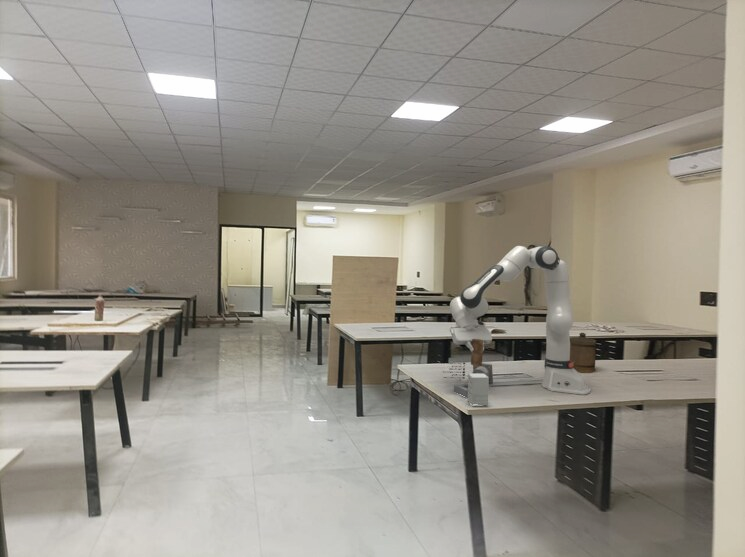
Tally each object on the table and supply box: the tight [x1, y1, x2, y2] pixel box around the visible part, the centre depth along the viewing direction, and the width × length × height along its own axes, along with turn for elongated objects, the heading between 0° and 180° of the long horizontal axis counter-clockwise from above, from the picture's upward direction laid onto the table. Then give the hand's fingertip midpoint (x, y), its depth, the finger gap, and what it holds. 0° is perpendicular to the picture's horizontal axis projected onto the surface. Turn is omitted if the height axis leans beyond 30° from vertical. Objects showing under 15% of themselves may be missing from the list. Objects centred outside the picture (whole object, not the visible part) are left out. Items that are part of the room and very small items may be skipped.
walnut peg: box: [470, 339, 484, 366], centre depth 222 cm, size 4×4×12 cm
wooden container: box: [570, 332, 597, 374], centre depth 279 cm, size 15×15×22 cm
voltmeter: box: [441, 362, 494, 384], centre depth 244 cm, size 27×11×10 cm, turn 92°
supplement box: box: [467, 372, 490, 406], centre depth 207 cm, size 7×7×13 cm
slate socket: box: [453, 383, 468, 398], centre depth 222 cm, size 10×10×4 cm
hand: (477, 350), depth 221 cm, fingers closed on walnut peg, 4 cm apart
